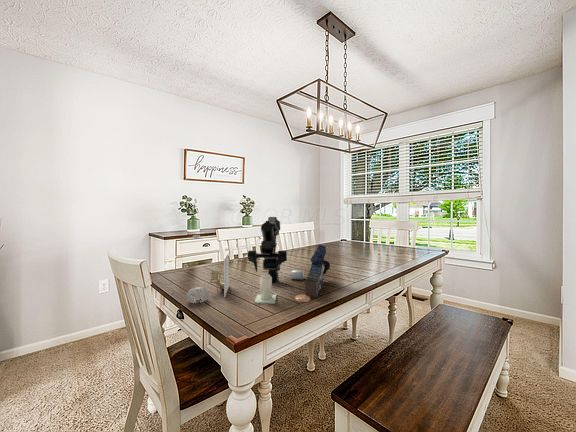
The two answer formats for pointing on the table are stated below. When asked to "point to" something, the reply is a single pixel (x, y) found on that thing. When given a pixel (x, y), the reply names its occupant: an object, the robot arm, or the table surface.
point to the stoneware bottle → (265, 285)
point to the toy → (316, 272)
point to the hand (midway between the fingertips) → (266, 271)
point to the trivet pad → (260, 301)
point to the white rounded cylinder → (297, 274)
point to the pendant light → (197, 289)
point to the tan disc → (302, 298)
